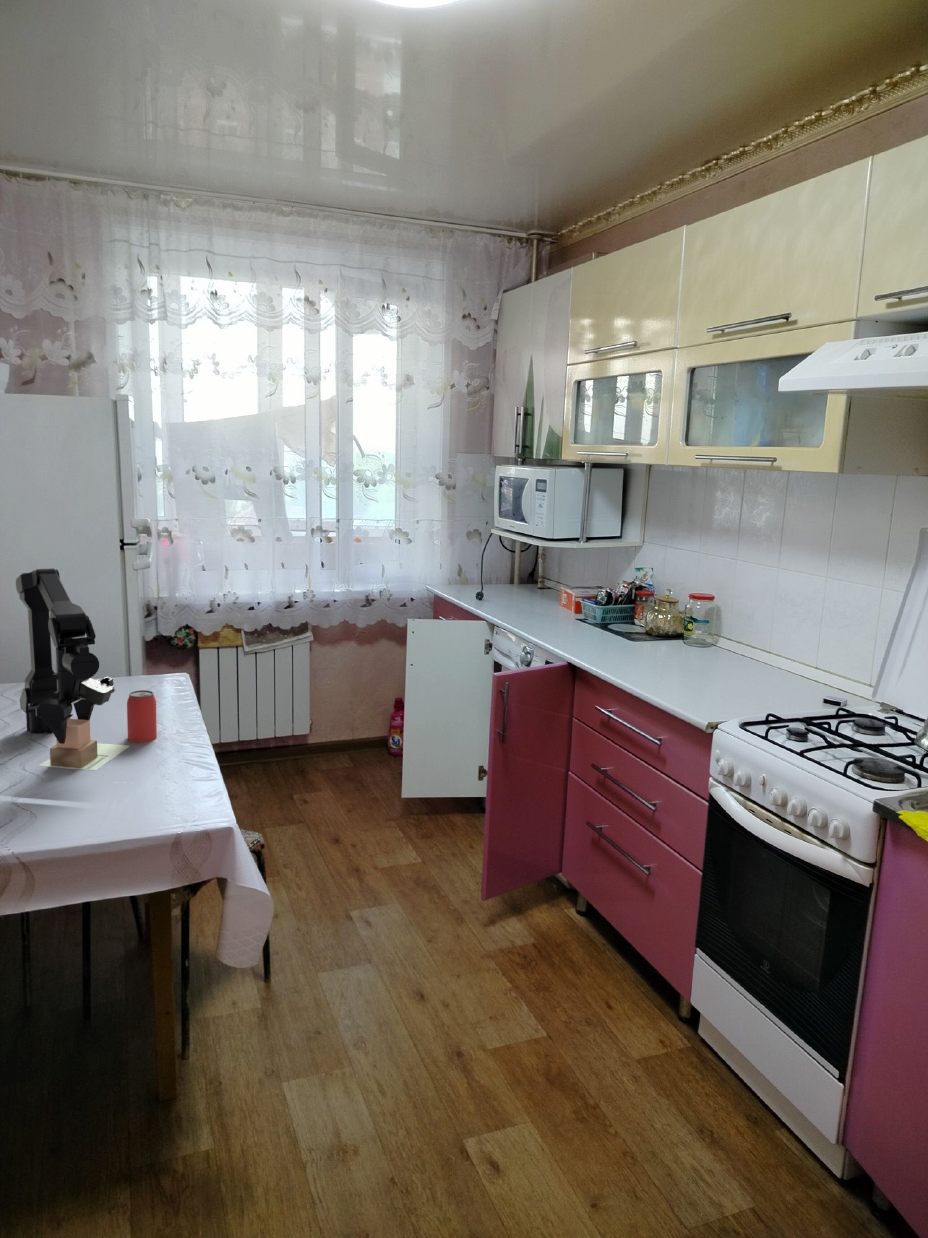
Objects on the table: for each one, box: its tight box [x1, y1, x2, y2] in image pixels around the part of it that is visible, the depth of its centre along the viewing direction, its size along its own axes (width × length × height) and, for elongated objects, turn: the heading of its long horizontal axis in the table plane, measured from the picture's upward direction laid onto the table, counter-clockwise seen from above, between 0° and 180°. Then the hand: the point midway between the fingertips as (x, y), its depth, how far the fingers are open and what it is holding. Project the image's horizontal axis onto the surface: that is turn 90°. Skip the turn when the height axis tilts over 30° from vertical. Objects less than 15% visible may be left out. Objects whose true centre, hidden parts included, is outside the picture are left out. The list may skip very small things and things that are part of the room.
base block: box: [49, 739, 98, 768], centre depth 188 cm, size 7×7×4 cm
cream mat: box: [38, 742, 130, 771], centre depth 192 cm, size 13×16×1 cm
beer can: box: [126, 689, 158, 743], centre depth 205 cm, size 7×7×12 cm
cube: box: [55, 718, 91, 749], centre depth 187 cm, size 5×5×5 cm
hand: (73, 736), depth 187 cm, fingers open, 9 cm apart
